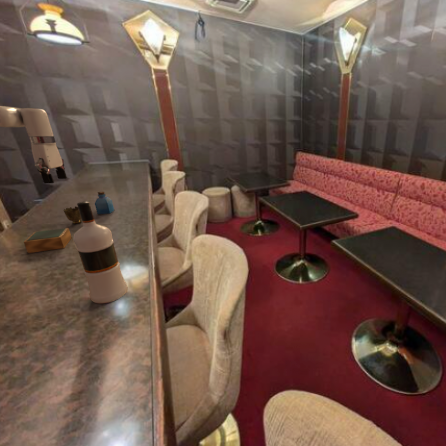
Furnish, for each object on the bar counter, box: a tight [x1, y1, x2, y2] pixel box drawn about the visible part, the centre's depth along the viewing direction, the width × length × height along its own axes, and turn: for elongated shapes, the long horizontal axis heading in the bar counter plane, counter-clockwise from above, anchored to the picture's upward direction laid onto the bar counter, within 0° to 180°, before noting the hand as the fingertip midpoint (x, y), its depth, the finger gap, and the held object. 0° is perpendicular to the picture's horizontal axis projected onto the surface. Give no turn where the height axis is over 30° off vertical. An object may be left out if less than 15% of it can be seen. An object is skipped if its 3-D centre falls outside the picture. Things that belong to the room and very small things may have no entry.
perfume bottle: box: [94, 191, 115, 215], centre depth 143 cm, size 6×6×12 cm
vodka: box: [72, 201, 129, 304], centre depth 71 cm, size 9×9×30 cm
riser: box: [23, 227, 73, 254], centre depth 104 cm, size 11×11×5 cm
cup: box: [63, 206, 83, 225], centre depth 127 cm, size 8×7×8 cm
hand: (56, 180), depth 109 cm, fingers open, 9 cm apart
